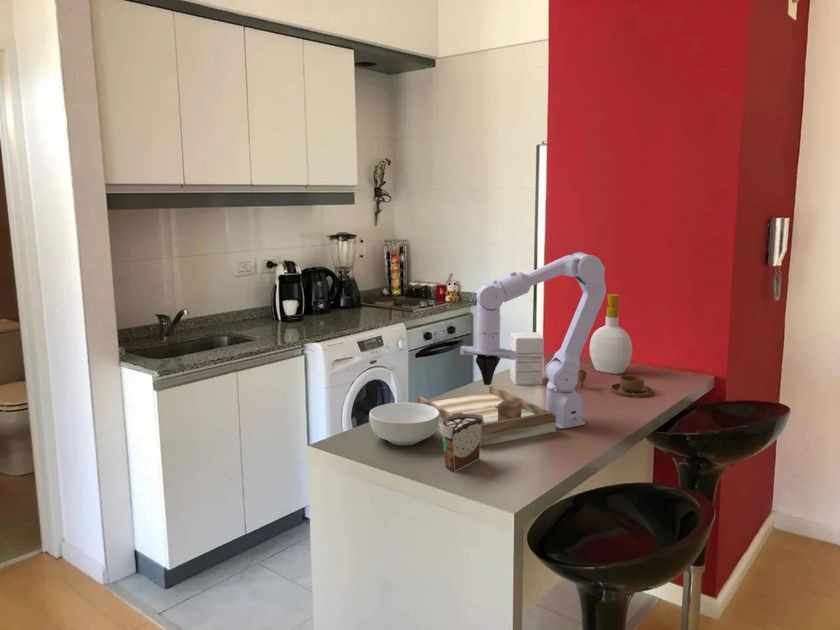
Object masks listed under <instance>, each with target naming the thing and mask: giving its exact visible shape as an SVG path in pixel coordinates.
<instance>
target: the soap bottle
mask: <svg viewBox="0 0 840 630" xmlns="http://www.w3.org/2000/svg"><path fill="white" fill-rule="evenodd" d="M619 298H620V295H619V294H616V293H610V294H607V303H608V304H607V305H608V306H607V307H606V316H605V325H603V326H601V327H599V328H598V329H596V330H595V331H594V332H593V333H592V336H591V339H590V341H589V342H590V343H589V356H590V359H591V363H592V365H593V366H594V369H595V370H596V371H598V372H600V373H604V374H611V373H613V374H612V375H620V374H624V373H625V371H626V370H627V368H628V367H629V365H630V362H631V360H632V356H633V343H632V340H631V337H630V335H629V334H628V332H627V331H626V330H625V329H624V328H621V327H620V326H619V320H620V319H619V318H620V317H619V307H617V306H618V303H619Z"/></svg>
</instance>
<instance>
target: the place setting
mask: <svg viewBox="0 0 840 630" xmlns="http://www.w3.org/2000/svg"><path fill="white" fill-rule="evenodd" d="M586 379H587V370H584V369H581V370H580V369H579V371H578V381H580V383H579V386H580V387H579V389H580V388H581V390H584V389H583V388H584V385H585V384H584V381H585V380H586ZM644 383H645V378H643V377H641V376H640V375H639V376H638V375H633V374H629V375H628V374H625V375H621V376H619V382H617V383H613V384H612V385H611V384H610V391H611V393H613V394H614V395H618V396H619V397H625V396H626V398H634V397H639V398H646V397H649V396H651V395H652V393H653V389H652V388H651V387H650V386H648V385H644ZM620 387H621V390H623V391H619V390H617V389H620ZM615 388H617V389H615ZM642 389H645V390H647V391H648V392H647V391H646V392H645V393H639V392H641V391H642ZM645 390H644V391H645ZM632 393H636V394H632ZM597 394H598V395H601V394H602V395H603V393H602V392H598V393H597Z"/></svg>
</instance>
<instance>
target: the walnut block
mask: <svg viewBox="0 0 840 630" xmlns="http://www.w3.org/2000/svg"><path fill="white" fill-rule="evenodd" d="M518 417H521V402H516V401H509V400H504V401H502V402H501V403H500V404H498V421H501V420H507V419H513V418H518Z"/></svg>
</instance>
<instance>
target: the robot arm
mask: <svg viewBox="0 0 840 630" xmlns="http://www.w3.org/2000/svg"><path fill="white" fill-rule="evenodd" d="M605 272H606V268H605V266H604V264H603V263H602V261H601V260H600V258H599V257H597V255H596V256H595V255H592V254H587V253H585V252H582V251H578V252H574V253H572V254H568V255H565V256H563V257H560V258H558V259H555V260H553V261H551V262H549V263H546V264H545V265H543V266H541V267H539V268H537V269H535V270H532V271H530V272H528V273H523V272H521V271H517V272H515V271H511V272H509V275H508V276H505V277H504V278H500V279H499V280H497V279H494V280H492V284H489V283H486V284H483V285H481V286H480V287H479V288H478V289H477V292H476V294H475V300H476V301H477V303H478V306H477V307H478V308H477V327H476V328H477V330H476V331H477V332H476V333H477V334H476V345H475V346H474V345H472V346H471V345H462V346H460V354H459V355H460V356H461V355H463V356H464V355H469V356H476V357H475V363H476V365H477V366H478V368H479V370H480V374H481V377H482V382H483V385H484V386H491V384H492V381H493V377H494V374H495V371H496V369H497V366H498V364H499V362H500V360H501V359H506V360H509V361H510V360H515V359H517V351H511V349H506V348H501V345H500V343H501V341H500V340H501V306H502V305H503V303H507V302H509V301H511V300H514V299H517V298H519V297H521V296H524V295H526V294H528V293H529V291H530V289H531V287H532V286H535V285H537V284H540V283H543V282H545V281H549V280H551V279H554V278H558V277H559V276H565V277H566V276H567V277H573V278H575V279H576V280H577V282H578V283H579V286H580V288H581V290H582V295H581V298H580V300H579V303H578V305H577V307H576V310H575V313H574V315H573V317H572V319H571V322H570V324H569V327H568V329H567V332H566V334H565V336H564V339H563V341H562V344H561V347H560V348H559V349H558V350H557V351H556V352H555V353H554V355H553V357H552V359H551V360H550V361H548V363H547V364H546V366H545V369H544V373H545V377H546V378H547V380H548V382H547V384H546V392H545V393H546V395H545V396H546V397H545V410H547V411H549V412H552V413H554V414H556V426H555V428H557V429H559V430H561V429H562V430H563V429H567V428H568V429H569V428H573V427H578V426H583V425H585V423H586V422H584V421H583V412H584V411H583V410H584V401H583V398H582V396H581V395H580V394H578V393H577V392H576V386H577V385H578V382H579V378H578V371H579V370H580V367H581V362H580V361H581V360H580V356H581V355H582V352H583V350H584V347H585V345H586V343H587V340H588V337H589V335H590V332H591V331H592V328H593V326H594V323H595V320H596V319H597V315H598V313H599V311H600V309H601V307H602V304H603V301H604V299H605V296H606V293H607V287H606V280H605V277H606V276H605Z"/></svg>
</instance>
